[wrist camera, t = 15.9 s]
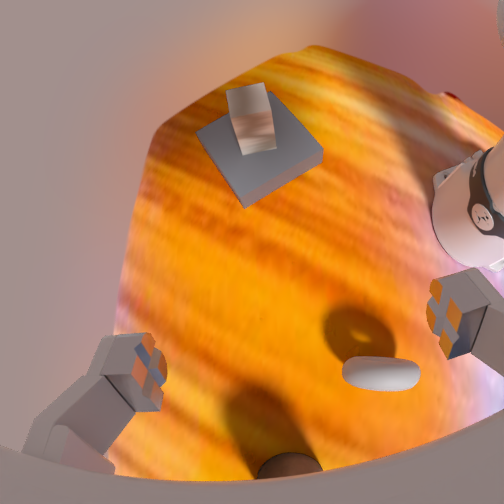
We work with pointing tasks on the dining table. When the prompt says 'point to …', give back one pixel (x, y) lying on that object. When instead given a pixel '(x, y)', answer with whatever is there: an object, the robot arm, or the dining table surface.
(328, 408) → the dining table surface
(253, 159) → the grey plinth
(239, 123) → the grey upright block
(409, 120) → the dining table surface
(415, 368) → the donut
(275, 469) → the pillar candle
